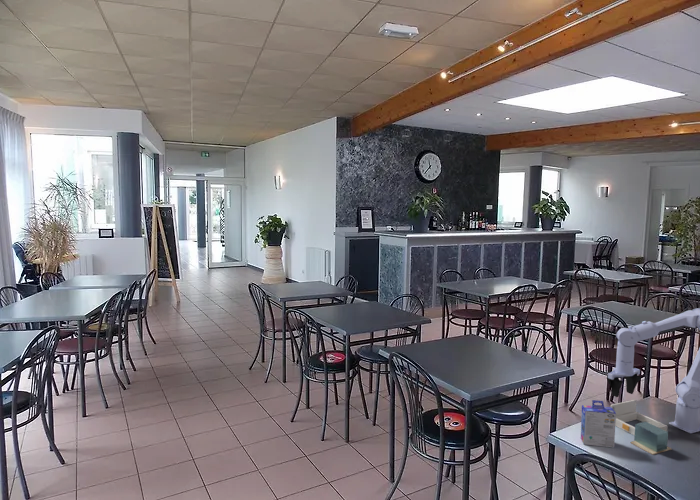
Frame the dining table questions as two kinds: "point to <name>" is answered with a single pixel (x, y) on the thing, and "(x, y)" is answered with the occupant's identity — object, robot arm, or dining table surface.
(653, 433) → the block
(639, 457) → the dining table surface
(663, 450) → the oak pad
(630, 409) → the case lid
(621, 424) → the case
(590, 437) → the ink cartridge box
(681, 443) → the dining table surface
